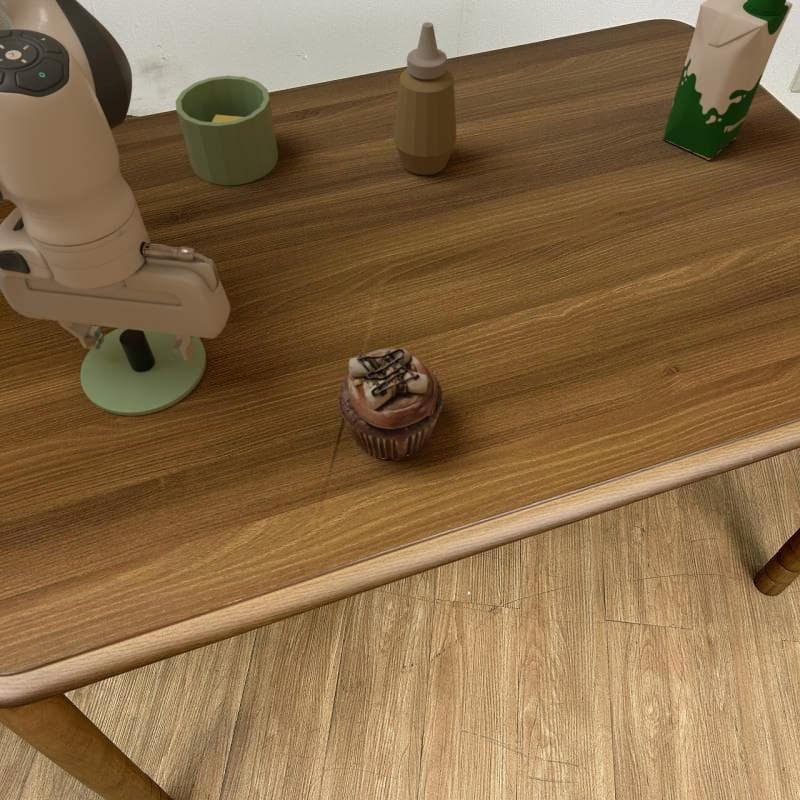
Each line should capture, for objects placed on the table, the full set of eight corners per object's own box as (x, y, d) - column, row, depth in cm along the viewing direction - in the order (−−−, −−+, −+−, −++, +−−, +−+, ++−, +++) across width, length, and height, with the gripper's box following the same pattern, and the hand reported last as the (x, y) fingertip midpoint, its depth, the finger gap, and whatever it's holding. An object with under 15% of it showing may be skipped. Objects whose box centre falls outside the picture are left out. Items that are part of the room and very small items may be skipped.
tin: (179, 181, 96) (162, 121, 89) (207, 131, 103) (193, 72, 96) (264, 189, 95) (254, 129, 88) (287, 138, 102) (279, 79, 95)
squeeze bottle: (384, 173, 97) (380, 34, 82) (407, 140, 101) (407, 3, 87) (442, 187, 95) (449, 47, 80) (463, 153, 99) (473, 15, 85)
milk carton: (711, 167, 97) (771, 10, 81) (651, 140, 101) (697, -16, 85) (744, 139, 101) (808, -16, 85) (686, 114, 105) (736, -39, 89)
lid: (63, 411, 73) (42, 377, 69) (113, 321, 80) (97, 285, 76) (183, 427, 72) (170, 393, 68) (223, 334, 79) (213, 298, 75)
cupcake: (461, 438, 71) (468, 370, 63) (375, 486, 67) (371, 420, 59) (406, 374, 76) (406, 303, 68) (323, 415, 72) (313, 346, 64)
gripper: (222, 226, 63) (250, 337, 74) (-1, 205, 66) (58, 316, 76) (198, 277, 59) (231, 386, 70) (-38, 252, 62) (30, 361, 73)
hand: (139, 349), depth 73 cm, fingers open, 8 cm apart
